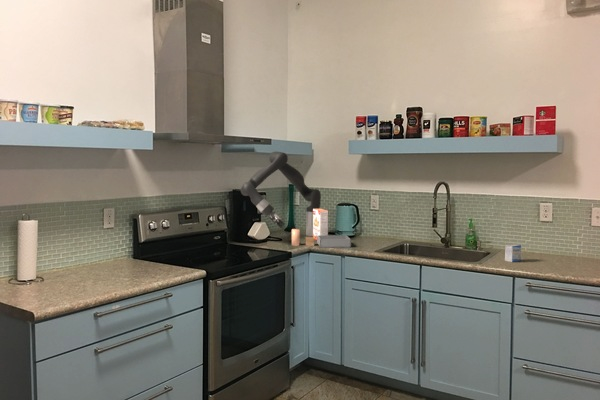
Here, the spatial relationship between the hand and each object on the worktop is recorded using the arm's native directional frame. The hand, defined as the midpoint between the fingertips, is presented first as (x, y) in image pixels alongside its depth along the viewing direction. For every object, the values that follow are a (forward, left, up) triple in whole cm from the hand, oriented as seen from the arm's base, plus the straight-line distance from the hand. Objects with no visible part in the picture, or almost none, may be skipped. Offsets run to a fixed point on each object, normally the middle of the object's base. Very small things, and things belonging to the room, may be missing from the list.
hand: (282, 225), depth 319 cm
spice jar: (+2, +8, -12) cm, 14 cm away
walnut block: (+3, +17, -12) cm, 21 cm away
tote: (+4, +32, -12) cm, 34 cm away
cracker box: (-16, +26, -12) cm, 33 cm away
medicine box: (+58, +122, -12) cm, 135 cm away
